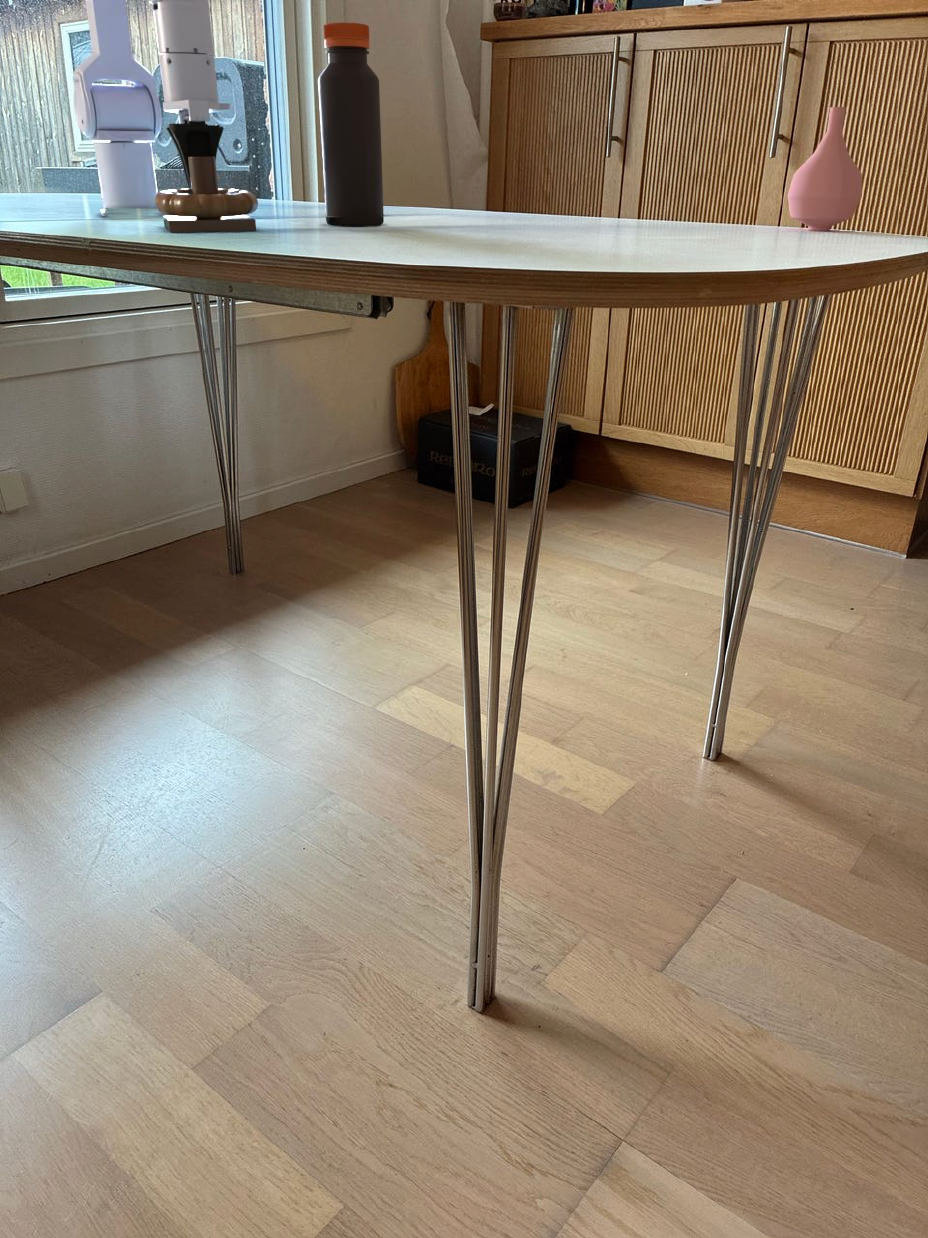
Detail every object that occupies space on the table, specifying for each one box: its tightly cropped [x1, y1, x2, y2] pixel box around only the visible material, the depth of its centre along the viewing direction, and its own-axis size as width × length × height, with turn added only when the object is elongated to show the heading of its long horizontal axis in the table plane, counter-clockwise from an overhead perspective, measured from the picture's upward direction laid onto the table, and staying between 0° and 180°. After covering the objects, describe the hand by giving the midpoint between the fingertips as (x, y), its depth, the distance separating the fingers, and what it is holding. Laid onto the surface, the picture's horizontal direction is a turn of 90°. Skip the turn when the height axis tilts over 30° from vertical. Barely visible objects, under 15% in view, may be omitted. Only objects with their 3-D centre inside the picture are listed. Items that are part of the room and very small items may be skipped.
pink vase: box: [787, 106, 863, 232], centre depth 102 cm, size 8×8×12 cm
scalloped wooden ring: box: [154, 188, 259, 217], centre depth 103 cm, size 11×11×2 cm
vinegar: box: [317, 22, 385, 228], centre depth 106 cm, size 7×7×20 cm
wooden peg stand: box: [162, 157, 257, 234], centre depth 102 cm, size 9×9×7 cm
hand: (202, 195), depth 106 cm, fingers closed on scalloped wooden ring, 2 cm apart
